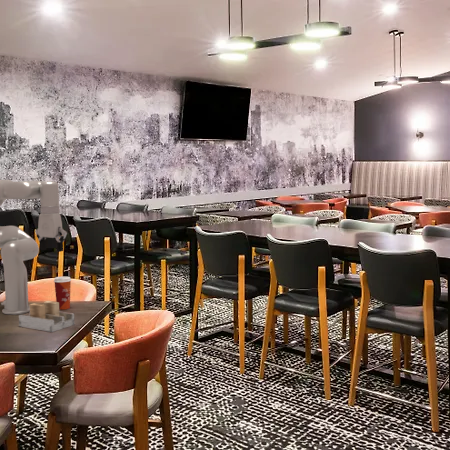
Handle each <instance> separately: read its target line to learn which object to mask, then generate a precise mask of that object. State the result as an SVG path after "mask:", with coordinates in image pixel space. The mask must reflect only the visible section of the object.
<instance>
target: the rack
mask: <svg viewBox="0 0 450 450" xmlns="http://www.w3.org/2000/svg"><path fill="white" fill-rule="evenodd" d="M28 313H29V314H28V315H27V314H26V315H25V314H18V327H22V328H27V329H30V330H31V329H33V330H38V331H44V332H50V333H54V332H57V331H60V330H62V329H66V328H68V327H71V326H75V313H73V312H68V311H67V312H66V311H62V310H59V316H57V315H51V314H45V318H46V319H45V318H39V317H33V316H30V312H28Z"/></svg>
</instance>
